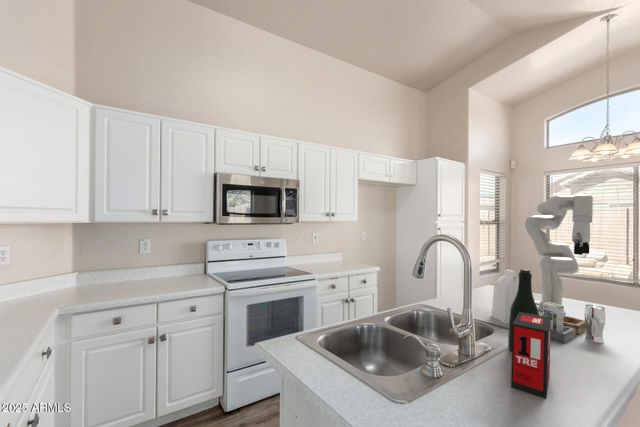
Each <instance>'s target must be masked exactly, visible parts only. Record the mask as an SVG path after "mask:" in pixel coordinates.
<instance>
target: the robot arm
mask: <svg viewBox="0 0 640 427" xmlns="http://www.w3.org/2000/svg"><path fill="white" fill-rule="evenodd" d="M593 197H594V196H592V194H576V195H572V194H571V195H567V194H564V195H563V194H562V195H561V194H559V195H554V196H551V197H549V198H548V199H547V200H545V201H543V202H539V203H538V205H537V207H536V211H537V212H538V214H540V215H530V216H528V217H526V219H525V222H524V226H525V230H526V232H527V234H528V236H529V237H530V238H531V240H532V242H533V244H534V248H535V250H536V251H537V254H538V255H539V256H540V257H541V259H540V262H539V263H540V264H539V266H540V271H541V301H539V300H535V303H536V305H537V308H538V311H539V312H542V313H543V303H546V302H552V303H555V304H559V305H563V280H562V278H561V277H560V276H559V275H560V274H561V275H574V274H576V273H577V272H578V271H579V265H578V261H577V259H576V258H575V256H574V255H580V256H582V255H583V254H587V255H588V254H590V241H591V223H593V209H594V208H593V205H594V204H593V203H594V202H593V201H594V200H593V199H594V198H593ZM568 210H569V211H570V210H572V223H573V225H572V232H571V233H572V235H571V241H572V242H573V252H572V250H571V247H570V246H569V245H568V244H567V243H566V242H565V243H564V242H561V241H559V242H556V241H555V242H554V241H552V240H551V239H550V238H551V237H550V236H549V235H548V234H547V232H545V231H543V230H556V229H558V228H560V226H561V224H562V222H563V220H564V218H565V217H566V216H567V213H568ZM565 314H566V310H564V315H565Z"/></svg>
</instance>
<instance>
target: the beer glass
mask: <svg viewBox="0 0 640 427" xmlns="http://www.w3.org/2000/svg"><path fill="white" fill-rule="evenodd" d="M606 315H607V313H606V308H605V307H604V306H601V305H596V304H589V303H587V304H585V307H584V320H585V323H586V328H587V331H586V334H585V340H587V341H588V342H591V343H595V344H604V342H605V341H604V340H605V339H604V336H603V335H604V329H605V325H606V320H607V318H606V317H607V316H606Z"/></svg>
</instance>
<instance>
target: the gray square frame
mask: <svg viewBox="0 0 640 427" xmlns="http://www.w3.org/2000/svg"><path fill="white" fill-rule="evenodd" d="M573 339H576V335H575V329H574V328H570V327H567V326H563V332H562V333H561V332H557V331H554V330H550V341H552V342H553V341H554V342H556V343H560V344H564V345H565V344H567V343H569V342H571V341H572V340H573Z"/></svg>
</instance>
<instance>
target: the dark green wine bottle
mask: <svg viewBox="0 0 640 427" xmlns="http://www.w3.org/2000/svg"><path fill="white" fill-rule="evenodd" d="M532 278H533V276H532V273H531V270H530V269H525V268H521V269H519V272H518V279H519V283H518V291H517V294H516V297H515V299H514V301H513V303H512V305H511V308H510V315H509V324H508V336H507V338H508V339H507V344H508V345H507V346H508V347H507V348H508V351H509V352H510V353H512V324H513V322H514V320H515V318H516V317H517V315H518V313H519V312H524V313H529V314H535V315H540V310H539V309H538V305H536V303H535V301H536V300H535V298H534V294H533V289H532V288H533V286H532Z"/></svg>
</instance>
